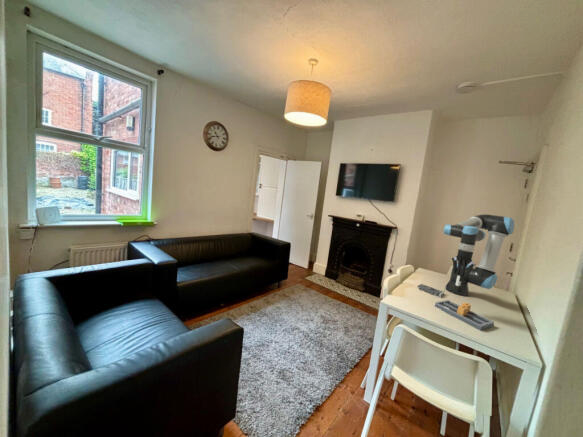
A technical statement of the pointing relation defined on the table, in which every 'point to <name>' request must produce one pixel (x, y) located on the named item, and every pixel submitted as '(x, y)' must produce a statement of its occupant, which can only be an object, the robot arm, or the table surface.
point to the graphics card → (431, 290)
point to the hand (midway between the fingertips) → (457, 285)
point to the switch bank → (469, 318)
